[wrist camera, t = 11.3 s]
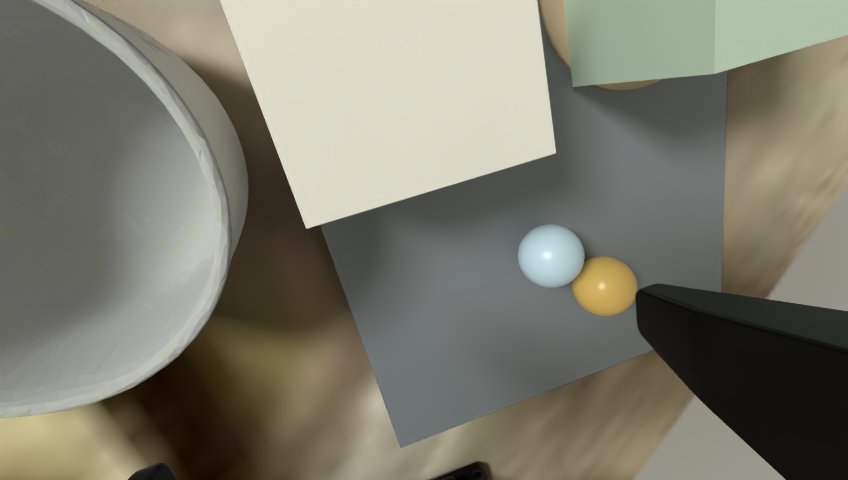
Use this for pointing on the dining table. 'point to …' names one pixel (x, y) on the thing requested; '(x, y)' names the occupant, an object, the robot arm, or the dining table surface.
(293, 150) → the ivory cube
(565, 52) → the tan flat disc
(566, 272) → the pale blue marble
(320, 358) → the dining table surface
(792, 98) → the dining table surface
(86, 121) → the teacup
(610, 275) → the amber marble
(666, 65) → the frosted jade cube
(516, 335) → the slate board
